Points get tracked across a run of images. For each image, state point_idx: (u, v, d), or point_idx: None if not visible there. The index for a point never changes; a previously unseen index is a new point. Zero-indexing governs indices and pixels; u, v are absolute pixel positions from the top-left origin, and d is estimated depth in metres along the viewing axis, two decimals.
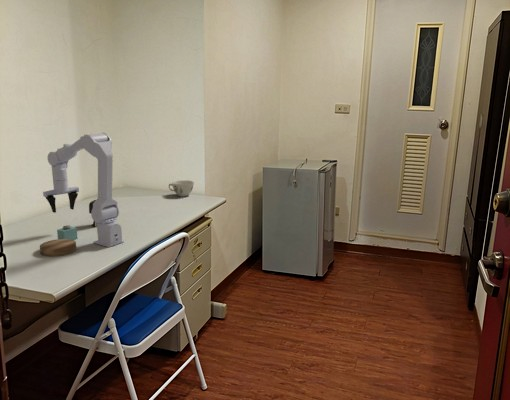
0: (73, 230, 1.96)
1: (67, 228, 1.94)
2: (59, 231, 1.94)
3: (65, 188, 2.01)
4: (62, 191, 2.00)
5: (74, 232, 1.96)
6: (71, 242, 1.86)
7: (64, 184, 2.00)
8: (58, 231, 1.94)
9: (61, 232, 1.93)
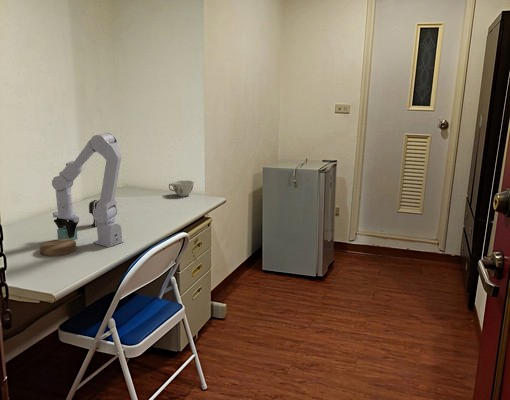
0: None
1: None
2: (59, 231, 1.94)
3: (60, 214, 1.91)
4: (58, 216, 1.92)
5: None
6: (71, 242, 1.86)
7: (59, 210, 1.91)
8: (58, 231, 1.94)
9: (61, 232, 1.93)
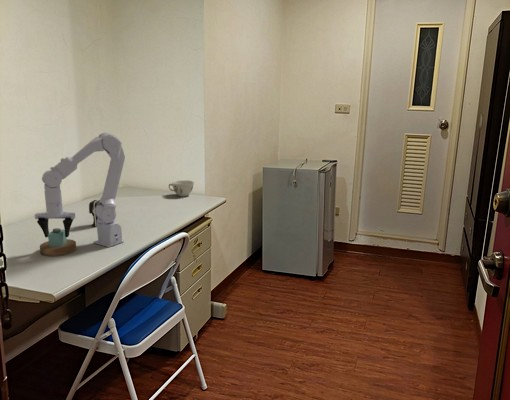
0: (64, 232, 1.84)
1: (59, 231, 1.82)
2: (52, 235, 1.80)
3: (54, 213, 1.78)
4: (50, 216, 1.78)
5: (64, 234, 1.85)
6: (71, 242, 1.86)
7: (52, 208, 1.78)
8: (50, 235, 1.80)
9: (55, 236, 1.80)
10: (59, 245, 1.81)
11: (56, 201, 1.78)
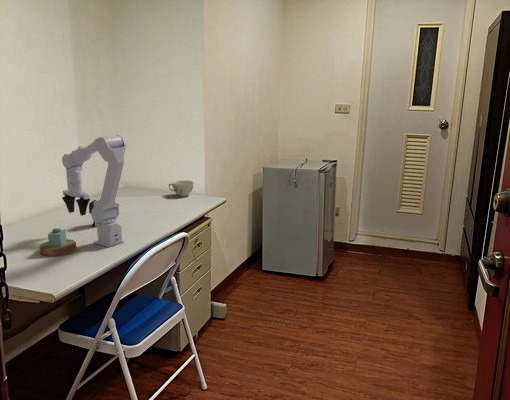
0: (64, 232, 1.84)
1: (59, 231, 1.82)
2: (52, 235, 1.80)
3: (70, 191, 1.96)
4: (68, 194, 1.97)
5: (64, 234, 1.85)
6: (71, 242, 1.86)
7: (69, 187, 1.96)
8: (50, 235, 1.80)
9: (55, 236, 1.80)
10: (59, 245, 1.81)
11: (69, 181, 1.95)
